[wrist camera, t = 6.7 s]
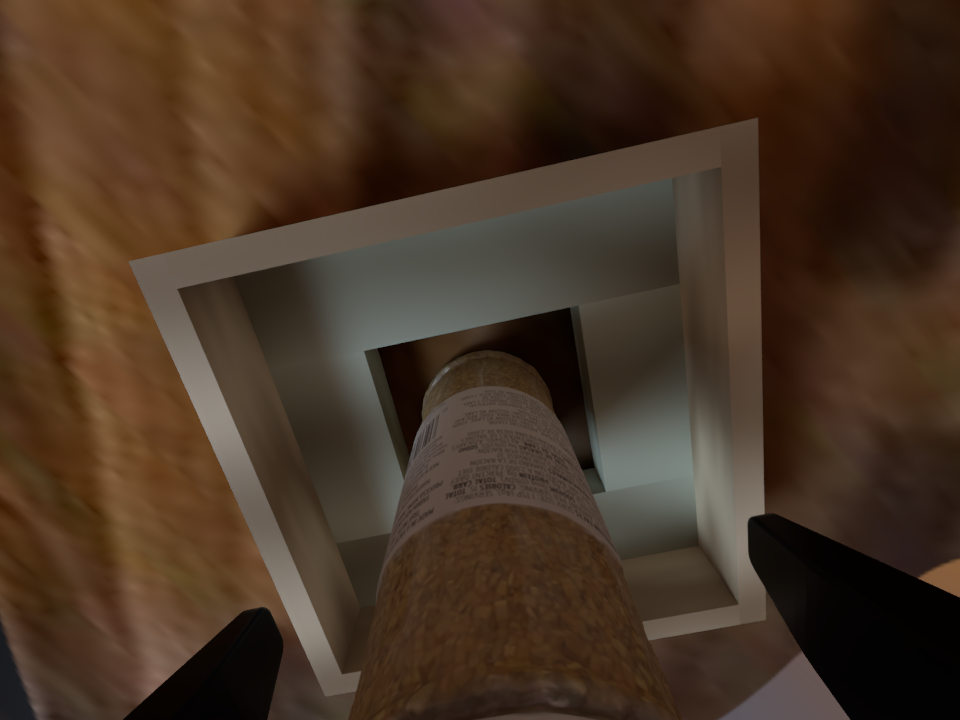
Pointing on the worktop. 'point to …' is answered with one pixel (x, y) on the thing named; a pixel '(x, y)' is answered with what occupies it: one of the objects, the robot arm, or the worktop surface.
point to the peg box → (477, 302)
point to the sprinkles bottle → (502, 571)
